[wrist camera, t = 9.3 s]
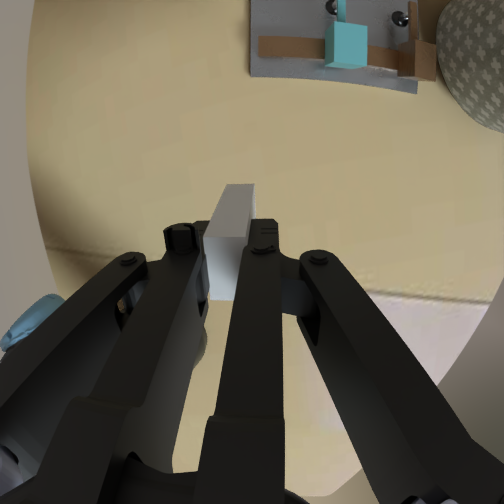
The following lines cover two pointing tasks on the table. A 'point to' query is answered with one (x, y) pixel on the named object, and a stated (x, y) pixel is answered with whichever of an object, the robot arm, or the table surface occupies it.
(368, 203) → the table surface
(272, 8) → the gauge board
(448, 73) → the planter
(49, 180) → the table surface
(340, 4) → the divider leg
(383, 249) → the table surface
